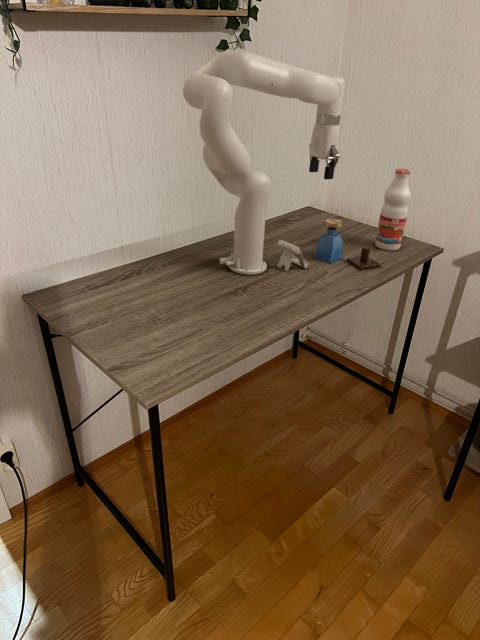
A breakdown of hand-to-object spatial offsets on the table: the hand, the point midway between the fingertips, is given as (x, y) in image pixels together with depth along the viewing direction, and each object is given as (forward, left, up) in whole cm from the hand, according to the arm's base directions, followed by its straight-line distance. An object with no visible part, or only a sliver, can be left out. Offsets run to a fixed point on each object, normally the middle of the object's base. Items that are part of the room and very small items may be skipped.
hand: (320, 175), depth 163 cm
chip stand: (+11, -15, -27) cm, 33 cm away
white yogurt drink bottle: (+30, -4, -27) cm, 41 cm away
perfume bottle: (+2, -7, -27) cm, 28 cm away
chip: (+2, -7, -15) cm, 17 cm away
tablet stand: (-14, -9, -27) cm, 32 cm away
